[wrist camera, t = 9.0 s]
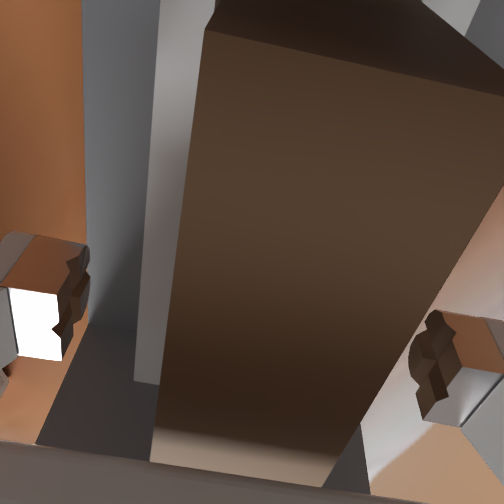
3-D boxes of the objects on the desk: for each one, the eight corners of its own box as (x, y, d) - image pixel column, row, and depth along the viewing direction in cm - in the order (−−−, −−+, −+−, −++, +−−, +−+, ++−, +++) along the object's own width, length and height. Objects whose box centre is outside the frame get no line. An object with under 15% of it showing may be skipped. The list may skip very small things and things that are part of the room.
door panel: (270, 299, 19) (260, 586, 11) (197, 286, 19) (135, 570, 11) (373, -39, 12) (549, 107, 4) (257, -66, 12) (203, 30, 4)
